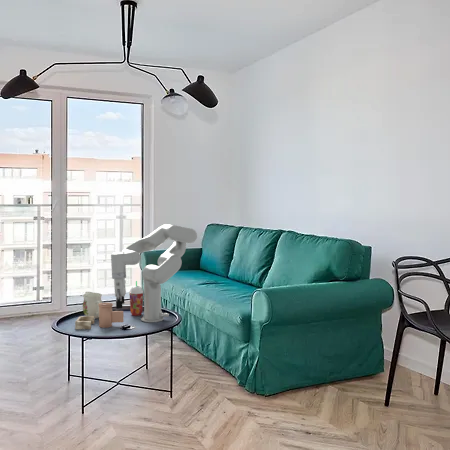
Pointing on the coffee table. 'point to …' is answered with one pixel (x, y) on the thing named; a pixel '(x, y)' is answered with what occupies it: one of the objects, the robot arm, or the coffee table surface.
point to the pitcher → (91, 304)
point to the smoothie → (136, 300)
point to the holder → (84, 322)
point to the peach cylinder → (109, 315)
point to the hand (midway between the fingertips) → (120, 306)
